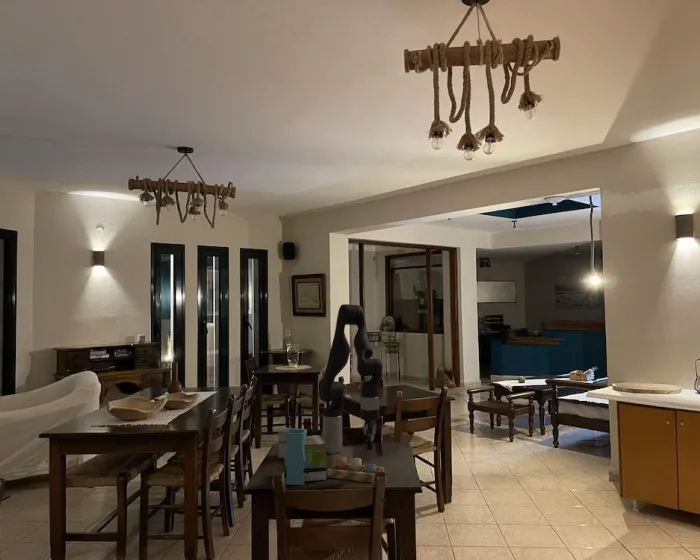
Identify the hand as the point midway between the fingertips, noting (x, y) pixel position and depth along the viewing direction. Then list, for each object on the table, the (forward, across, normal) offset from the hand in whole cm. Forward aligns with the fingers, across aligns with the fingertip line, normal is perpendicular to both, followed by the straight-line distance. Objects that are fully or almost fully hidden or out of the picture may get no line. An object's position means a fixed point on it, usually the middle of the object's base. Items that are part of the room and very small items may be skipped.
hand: (369, 449), depth 219 cm
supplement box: (+12, -15, -45) cm, 49 cm away
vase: (+12, +15, -26) cm, 32 cm away
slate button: (+10, 0, 0) cm, 10 cm away
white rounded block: (+9, 0, -6) cm, 11 cm away
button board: (+11, 0, -6) cm, 13 cm away
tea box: (+12, +6, -24) cm, 27 cm away
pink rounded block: (+9, 0, -13) cm, 15 cm away
